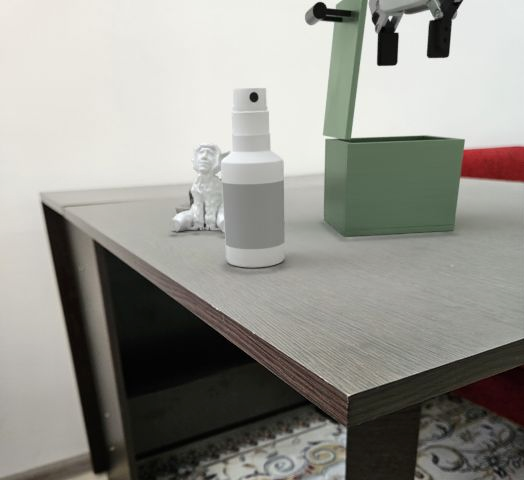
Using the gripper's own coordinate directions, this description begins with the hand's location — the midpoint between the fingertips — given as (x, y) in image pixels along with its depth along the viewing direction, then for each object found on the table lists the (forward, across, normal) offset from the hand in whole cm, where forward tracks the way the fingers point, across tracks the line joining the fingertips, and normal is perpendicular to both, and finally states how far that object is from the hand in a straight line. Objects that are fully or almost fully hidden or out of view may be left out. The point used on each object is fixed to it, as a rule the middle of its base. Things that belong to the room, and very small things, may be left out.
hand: (411, 61), depth 69 cm
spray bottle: (+21, -7, +28) cm, 36 cm away
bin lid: (+1, +3, +9) cm, 9 cm away
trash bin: (+21, +1, +3) cm, 21 cm away
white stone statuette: (+21, +27, +17) cm, 38 cm away
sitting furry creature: (+21, +14, +25) cm, 36 cm away
